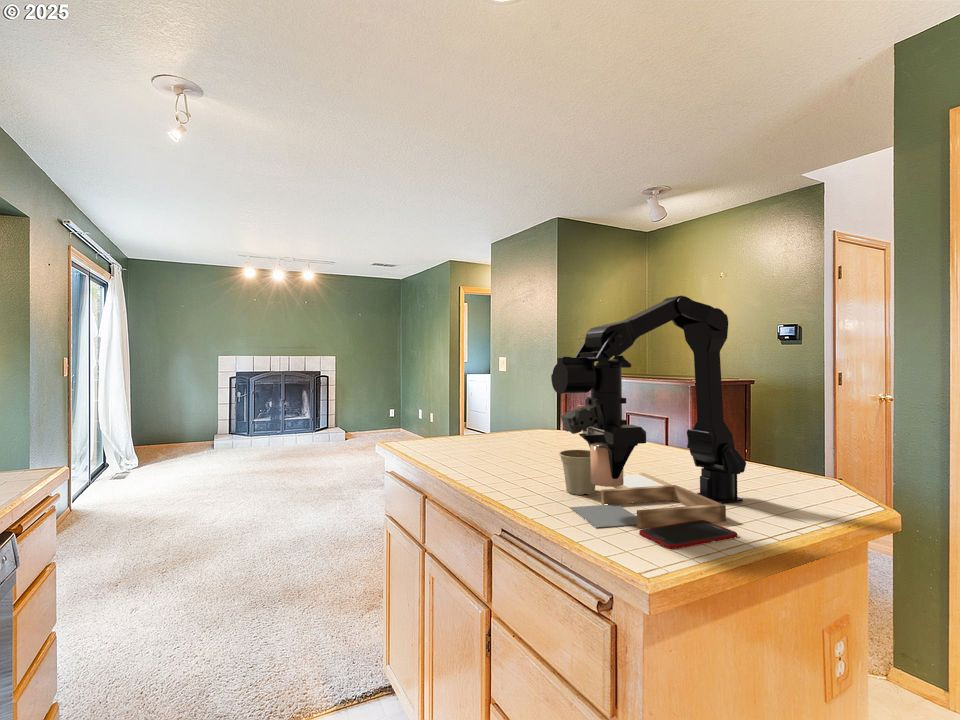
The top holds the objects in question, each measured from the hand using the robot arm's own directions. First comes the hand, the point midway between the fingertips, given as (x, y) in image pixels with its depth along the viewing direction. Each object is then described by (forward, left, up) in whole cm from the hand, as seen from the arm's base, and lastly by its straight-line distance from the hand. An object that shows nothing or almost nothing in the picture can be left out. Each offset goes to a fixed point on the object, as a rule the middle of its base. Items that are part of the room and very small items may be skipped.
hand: (607, 474), depth 92 cm
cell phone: (-8, +13, -8) cm, 17 cm away
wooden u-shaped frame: (-11, 0, -8) cm, 13 cm away
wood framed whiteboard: (-17, -18, -8) cm, 26 cm away
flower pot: (-2, -17, -8) cm, 19 cm away
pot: (0, 0, -2) cm, 2 cm away
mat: (0, 0, -8) cm, 8 cm away
